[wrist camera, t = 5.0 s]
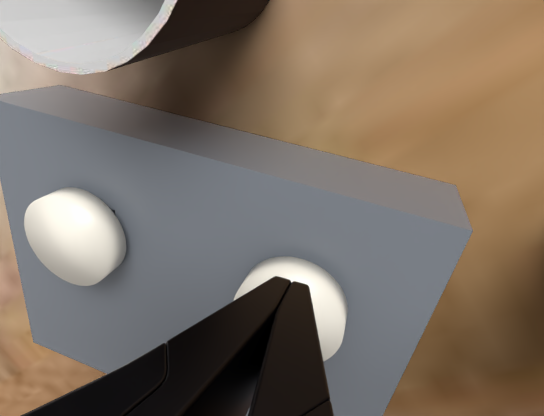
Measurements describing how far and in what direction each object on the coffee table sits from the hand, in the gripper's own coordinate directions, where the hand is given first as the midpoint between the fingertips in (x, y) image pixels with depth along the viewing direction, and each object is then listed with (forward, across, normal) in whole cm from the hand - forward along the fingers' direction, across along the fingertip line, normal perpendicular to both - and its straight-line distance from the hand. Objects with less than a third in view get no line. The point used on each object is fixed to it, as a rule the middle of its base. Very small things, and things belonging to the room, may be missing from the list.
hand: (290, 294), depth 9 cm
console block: (+12, +7, +9) cm, 17 cm away
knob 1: (+10, +13, +5) cm, 17 cm away
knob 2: (+10, +1, +6) cm, 12 cm away
